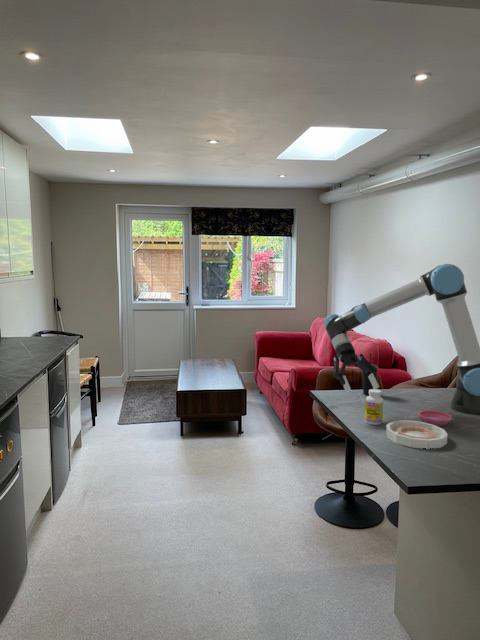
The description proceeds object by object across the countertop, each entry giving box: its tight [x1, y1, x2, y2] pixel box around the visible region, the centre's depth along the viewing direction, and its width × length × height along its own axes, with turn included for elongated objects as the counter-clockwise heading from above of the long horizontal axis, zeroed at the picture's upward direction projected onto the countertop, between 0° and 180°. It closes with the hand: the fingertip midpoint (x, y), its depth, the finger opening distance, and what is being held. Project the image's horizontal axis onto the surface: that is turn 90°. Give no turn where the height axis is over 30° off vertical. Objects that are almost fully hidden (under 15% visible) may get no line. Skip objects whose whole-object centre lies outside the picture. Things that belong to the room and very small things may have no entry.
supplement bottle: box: [364, 389, 384, 426], centre depth 181 cm, size 7×7×13 cm
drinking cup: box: [361, 352, 379, 396], centre depth 221 cm, size 8×8×20 cm
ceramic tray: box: [385, 419, 448, 450], centre depth 166 cm, size 20×20×3 cm
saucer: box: [417, 409, 453, 427], centre depth 184 cm, size 12×12×3 cm
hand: (363, 390), depth 186 cm, fingers open, 13 cm apart
